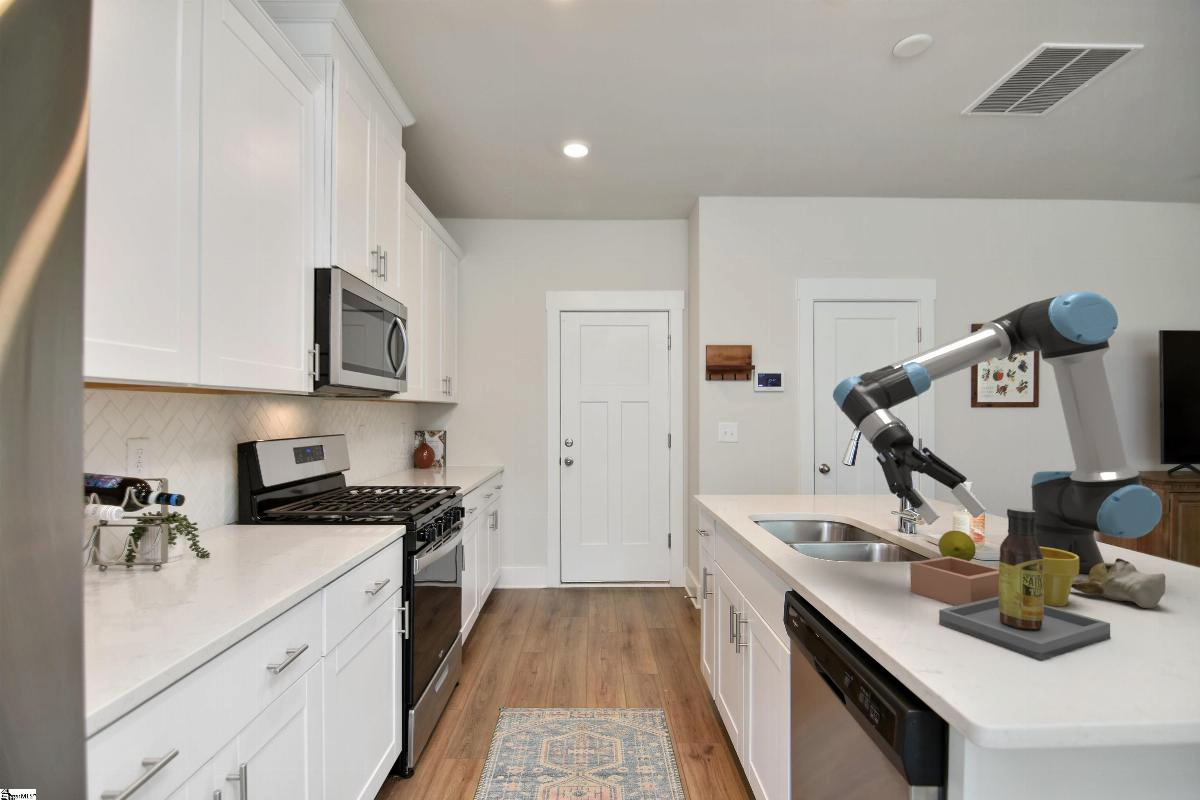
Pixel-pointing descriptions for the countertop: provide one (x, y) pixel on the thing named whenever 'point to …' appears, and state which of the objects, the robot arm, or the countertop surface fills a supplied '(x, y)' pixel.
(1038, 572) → the sauce bottle
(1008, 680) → the countertop surface
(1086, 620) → the grey tray
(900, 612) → the countertop surface
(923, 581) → the terracotta holder
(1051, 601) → the plant pot
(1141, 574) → the ceramic sculpture
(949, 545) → the lemon
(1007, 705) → the countertop surface
